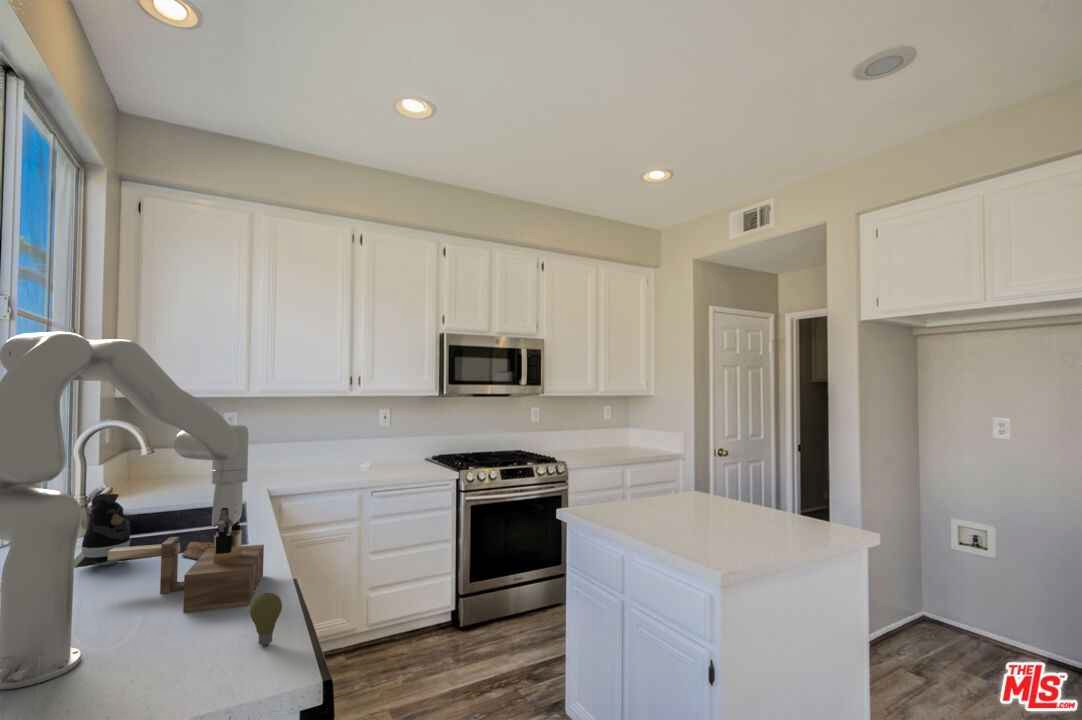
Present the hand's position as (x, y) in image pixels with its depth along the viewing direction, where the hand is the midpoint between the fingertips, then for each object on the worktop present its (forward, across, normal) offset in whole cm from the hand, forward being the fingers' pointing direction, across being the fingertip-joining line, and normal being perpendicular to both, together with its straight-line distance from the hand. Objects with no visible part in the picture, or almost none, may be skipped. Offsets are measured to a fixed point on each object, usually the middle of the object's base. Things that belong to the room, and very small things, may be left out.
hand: (228, 547), depth 133 cm
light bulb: (+11, +32, +13) cm, 36 cm away
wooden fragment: (+12, -38, -14) cm, 42 cm away
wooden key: (+2, -7, -19) cm, 21 cm away
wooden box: (+11, 0, -4) cm, 12 cm away
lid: (+4, 0, 0) cm, 4 cm away
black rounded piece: (+11, -32, -36) cm, 49 cm away
